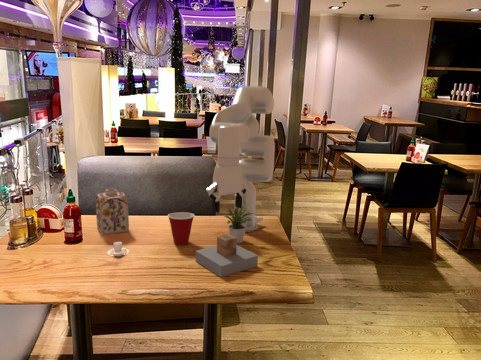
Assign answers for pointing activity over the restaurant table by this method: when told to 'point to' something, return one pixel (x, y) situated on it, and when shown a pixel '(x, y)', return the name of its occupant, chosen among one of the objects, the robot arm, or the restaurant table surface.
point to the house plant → (238, 222)
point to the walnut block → (226, 245)
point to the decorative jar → (112, 212)
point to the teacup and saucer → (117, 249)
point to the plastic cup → (181, 226)
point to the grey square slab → (226, 260)
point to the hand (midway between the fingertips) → (227, 209)
